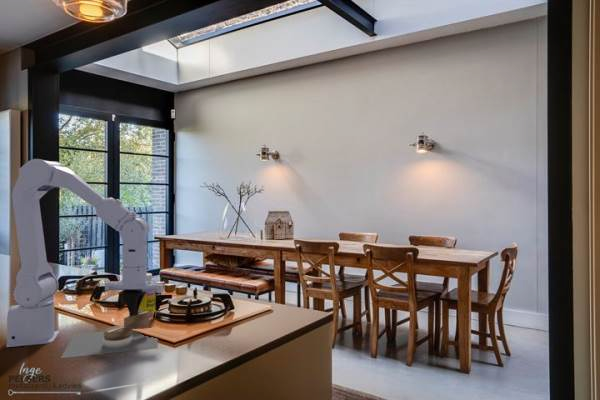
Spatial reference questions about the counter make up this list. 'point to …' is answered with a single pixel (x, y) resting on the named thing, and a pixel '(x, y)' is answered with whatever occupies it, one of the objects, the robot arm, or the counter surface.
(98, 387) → the counter surface
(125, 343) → the jar
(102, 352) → the mat
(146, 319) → the cap
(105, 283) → the robot arm
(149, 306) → the supplement bottle
